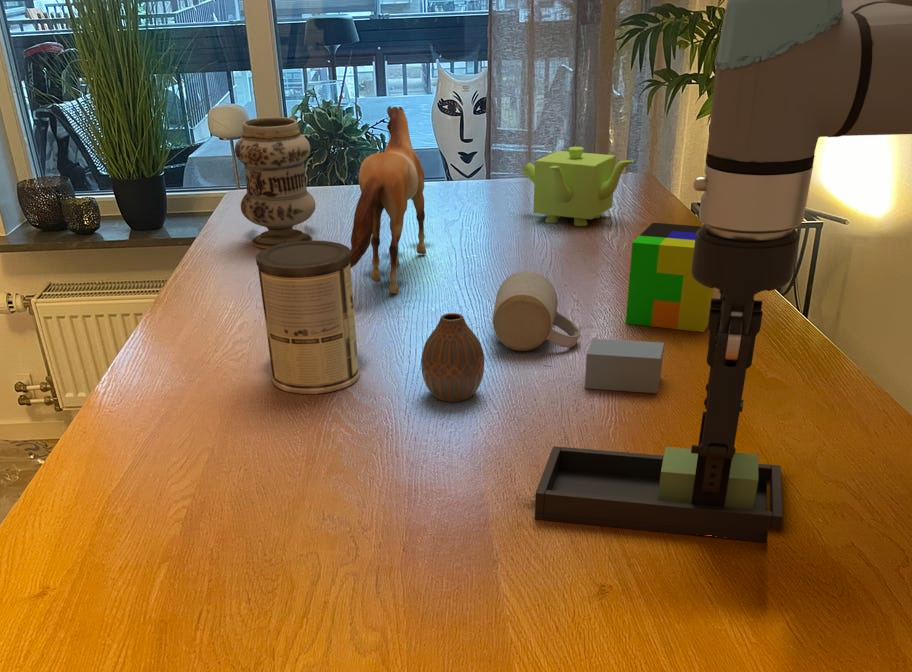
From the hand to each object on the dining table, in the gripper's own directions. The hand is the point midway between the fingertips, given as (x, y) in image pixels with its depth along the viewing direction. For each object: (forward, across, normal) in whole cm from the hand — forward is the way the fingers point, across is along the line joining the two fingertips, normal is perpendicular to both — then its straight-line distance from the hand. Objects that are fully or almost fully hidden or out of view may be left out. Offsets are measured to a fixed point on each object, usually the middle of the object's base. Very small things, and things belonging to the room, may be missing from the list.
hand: (707, 499), depth 89 cm
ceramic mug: (+1, -39, -22) cm, 45 cm away
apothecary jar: (+1, -78, -71) cm, 106 cm away
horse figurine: (+1, -63, -50) cm, 81 cm away
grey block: (+1, -28, -10) cm, 30 cm away
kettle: (+1, -99, -26) cm, 102 cm away
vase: (+1, -21, -28) cm, 35 cm away
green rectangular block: (0, 0, 0) cm, 0 cm away
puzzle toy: (+1, -52, -6) cm, 52 cm away
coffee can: (+1, -23, -45) cm, 51 cm away
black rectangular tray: (+1, 0, -4) cm, 4 cm away
